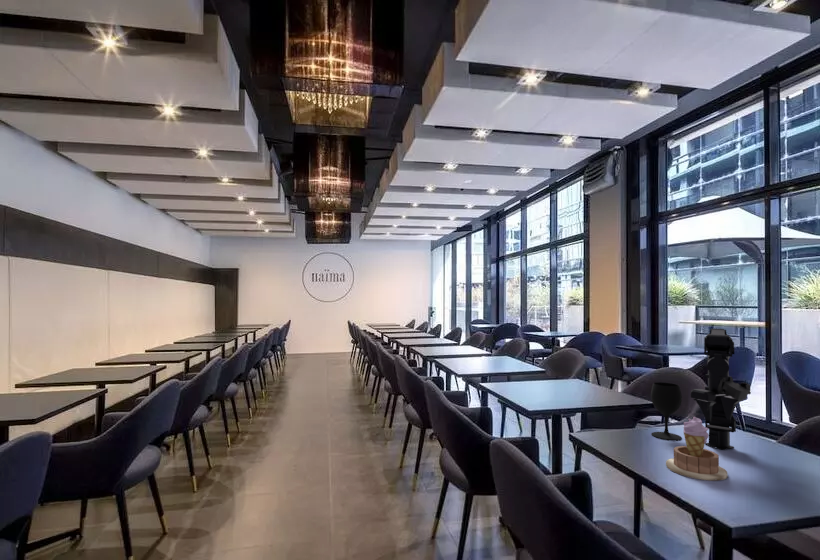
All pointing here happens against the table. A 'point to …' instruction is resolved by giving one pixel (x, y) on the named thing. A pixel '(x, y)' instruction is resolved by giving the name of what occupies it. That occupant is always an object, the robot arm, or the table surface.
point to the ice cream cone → (695, 436)
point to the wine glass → (666, 405)
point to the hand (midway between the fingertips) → (718, 420)
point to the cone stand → (696, 465)
